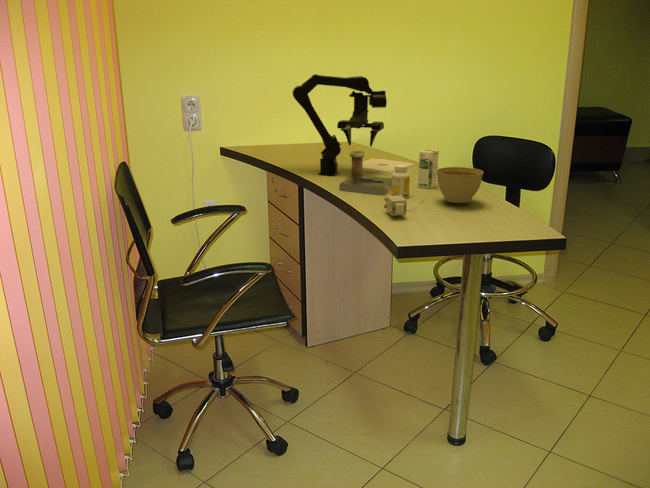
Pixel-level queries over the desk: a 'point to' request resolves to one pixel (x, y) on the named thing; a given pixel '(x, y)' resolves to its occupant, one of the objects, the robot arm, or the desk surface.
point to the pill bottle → (401, 181)
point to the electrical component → (395, 204)
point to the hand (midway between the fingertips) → (360, 145)
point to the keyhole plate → (366, 185)
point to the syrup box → (428, 168)
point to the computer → (382, 165)
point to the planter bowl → (459, 183)
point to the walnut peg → (357, 162)
